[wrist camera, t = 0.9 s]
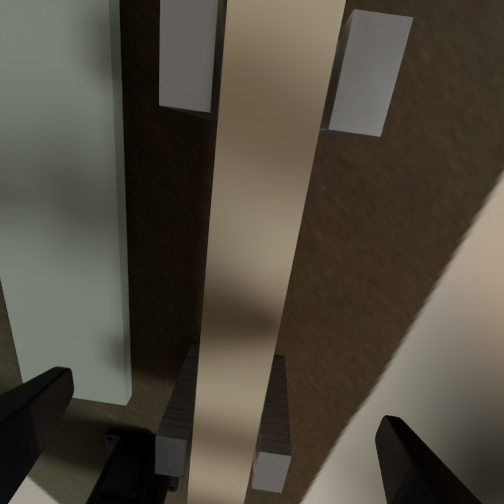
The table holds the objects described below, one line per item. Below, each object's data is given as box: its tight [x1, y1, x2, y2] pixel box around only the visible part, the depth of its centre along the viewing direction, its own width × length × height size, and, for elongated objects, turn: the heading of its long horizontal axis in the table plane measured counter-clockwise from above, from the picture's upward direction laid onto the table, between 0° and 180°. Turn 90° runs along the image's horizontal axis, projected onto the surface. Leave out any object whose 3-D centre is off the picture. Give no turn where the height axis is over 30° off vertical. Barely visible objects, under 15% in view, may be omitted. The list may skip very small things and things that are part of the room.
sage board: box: [0, 0, 132, 405], centre depth 18 cm, size 27×8×1 cm, turn 172°
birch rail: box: [187, 0, 346, 504], centre depth 13 cm, size 24×3×3 cm, turn 172°
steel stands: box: [155, 0, 413, 493], centre depth 15 cm, size 21×7×7 cm, turn 172°
